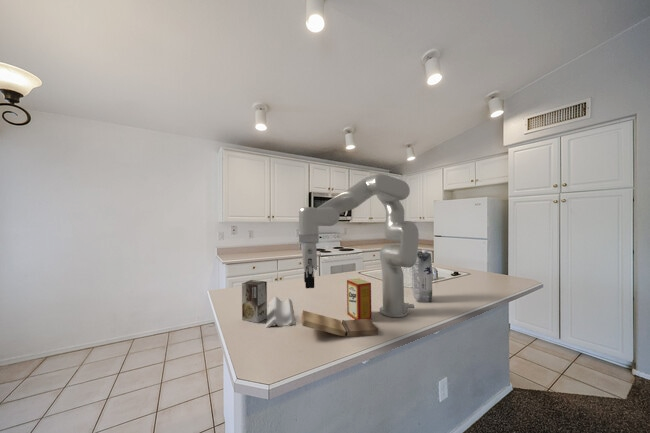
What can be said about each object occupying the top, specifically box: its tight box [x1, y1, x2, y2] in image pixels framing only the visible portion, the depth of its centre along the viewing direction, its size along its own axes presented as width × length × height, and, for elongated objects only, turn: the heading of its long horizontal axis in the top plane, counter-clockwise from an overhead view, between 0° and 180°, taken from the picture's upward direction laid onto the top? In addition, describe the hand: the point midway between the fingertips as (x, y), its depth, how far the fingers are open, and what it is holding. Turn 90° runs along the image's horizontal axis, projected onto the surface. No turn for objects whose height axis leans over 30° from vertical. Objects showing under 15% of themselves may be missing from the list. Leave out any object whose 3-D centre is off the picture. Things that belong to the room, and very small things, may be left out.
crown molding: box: [265, 296, 296, 329], centre depth 113 cm, size 31×12×4 cm, turn 11°
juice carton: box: [411, 249, 433, 303], centre depth 129 cm, size 9×10×27 cm
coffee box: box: [241, 279, 268, 324], centre depth 105 cm, size 9×6×16 cm
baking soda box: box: [346, 278, 373, 320], centre depth 107 cm, size 10×6×16 cm
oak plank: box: [301, 310, 346, 337], centre depth 91 cm, size 16×10×2 cm, turn 97°
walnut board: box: [341, 319, 379, 338], centre depth 93 cm, size 12×10×2 cm
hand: (309, 284), depth 91 cm, fingers open, 8 cm apart
